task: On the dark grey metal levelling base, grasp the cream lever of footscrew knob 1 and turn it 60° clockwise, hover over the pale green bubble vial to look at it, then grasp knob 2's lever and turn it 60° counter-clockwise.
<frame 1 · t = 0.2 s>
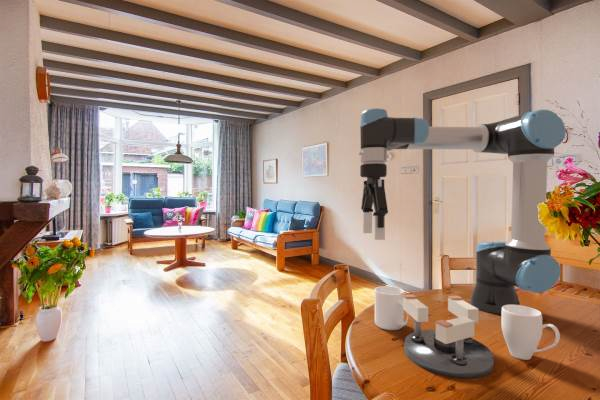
hand: (373, 236, 96), 28 cm above the table, fingers open, 13 cm apart
mug 2: (528, 359, 79), on the table
knob 3: (455, 339, 73), point 8 cm above the table, hinge at 0.0°
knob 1: (462, 317, 85), point 8 cm above the table, hinge at 0.0°
levelling base: (446, 355, 81), on the table
mug: (392, 327, 98), on the table
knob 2: (414, 316, 86), point 8 cm above the table, hinge at 0.0°
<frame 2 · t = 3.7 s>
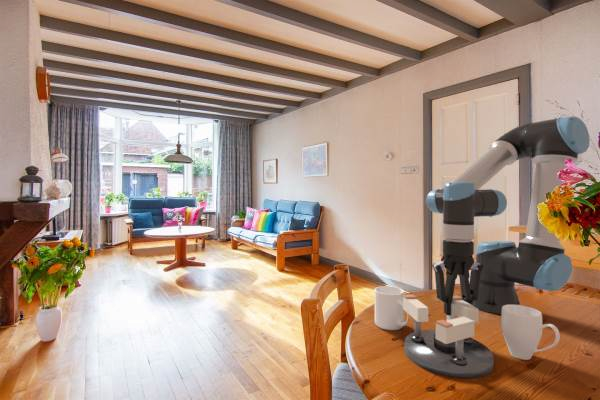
hand: (456, 326, 88), 4 cm above the table, fingers closed on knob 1, 3 cm apart
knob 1: (462, 317, 85), point 8 cm above the table, hinge at 0.0°, touching gripper
everything else where it was.
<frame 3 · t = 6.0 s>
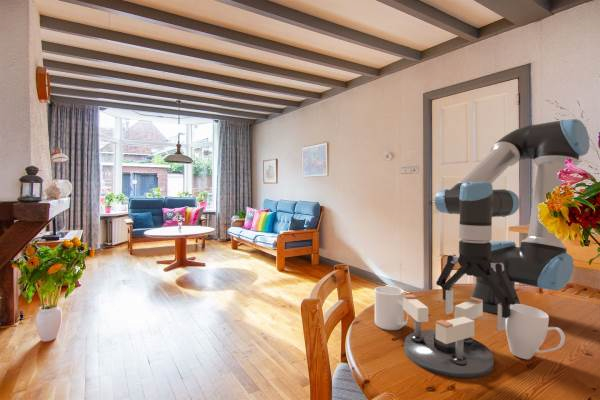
hand: (473, 320, 86), 6 cm above the table, fingers open, 13 cm apart
mug 2: (528, 359, 79), on the table, touching gripper
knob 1: (468, 318, 85), point 8 cm above the table, hinge at -59.1°
everything else where it was.
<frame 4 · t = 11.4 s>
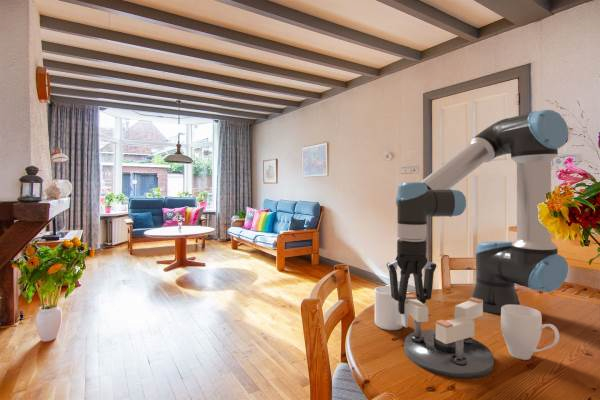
hand: (410, 324, 89), 4 cm above the table, fingers closed on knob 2, 3 cm apart
mug 2: (528, 359, 79), on the table
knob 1: (468, 318, 85), point 8 cm above the table, hinge at -59.4°
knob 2: (414, 316, 86), point 8 cm above the table, hinge at 0.0°, touching gripper
everything else where it was.
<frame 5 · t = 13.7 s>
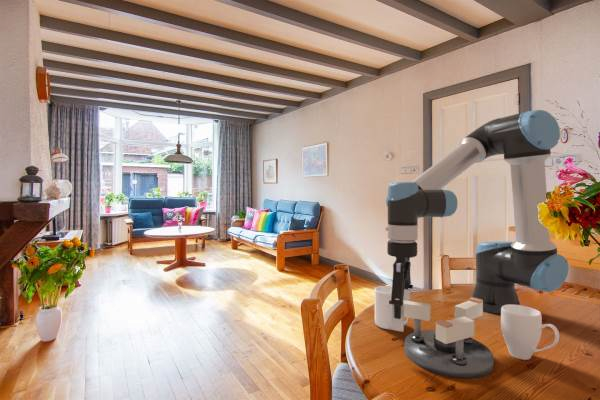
hand: (401, 320, 86), 6 cm above the table, fingers open, 13 cm apart
mug: (393, 327, 98), on the table, touching gripper
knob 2: (411, 317, 85), point 8 cm above the table, hinge at 59.8°
everything else where it was.
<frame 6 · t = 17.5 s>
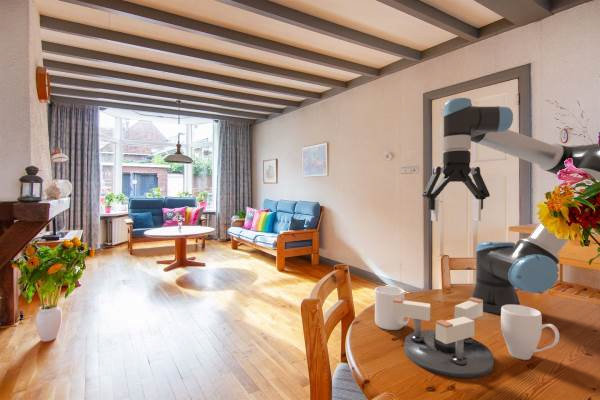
hand: (455, 220, 100), 32 cm above the table, fingers open, 13 cm apart
mug: (393, 327, 98), on the table
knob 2: (411, 317, 85), point 8 cm above the table, hinge at 60.4°
everything else where it was.
at the end: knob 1 at -59° (first picture: +0°); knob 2 at +60° (first picture: +0°); knob 3 at +0° (first picture: +0°) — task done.
